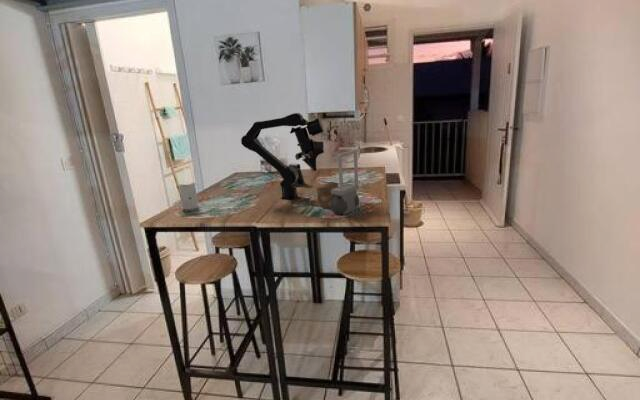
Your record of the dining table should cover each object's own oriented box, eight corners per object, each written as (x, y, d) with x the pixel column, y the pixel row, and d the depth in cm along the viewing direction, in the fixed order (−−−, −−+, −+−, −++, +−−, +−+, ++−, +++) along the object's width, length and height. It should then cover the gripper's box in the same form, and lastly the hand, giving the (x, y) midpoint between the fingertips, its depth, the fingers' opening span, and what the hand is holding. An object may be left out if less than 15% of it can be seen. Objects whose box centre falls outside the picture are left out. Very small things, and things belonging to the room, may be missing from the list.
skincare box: (182, 209, 162) (177, 184, 159) (188, 206, 166) (184, 182, 163) (193, 209, 160) (188, 184, 157) (199, 206, 164) (195, 182, 161)
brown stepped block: (309, 205, 155) (308, 185, 152) (323, 199, 162) (322, 181, 160) (338, 210, 145) (336, 189, 142) (351, 204, 152) (350, 184, 149)
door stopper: (295, 187, 190) (293, 165, 187) (286, 186, 193) (284, 165, 190) (305, 183, 197) (303, 162, 194) (296, 182, 200) (294, 162, 197)
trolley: (330, 213, 141) (326, 153, 134) (346, 206, 149) (343, 149, 143) (344, 216, 137) (340, 154, 130) (360, 208, 145) (358, 149, 138)
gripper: (327, 131, 156) (338, 163, 159) (308, 136, 172) (319, 165, 175) (307, 139, 151) (319, 172, 154) (289, 144, 167) (301, 173, 171)
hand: (315, 170), depth 164 cm, fingers closed
